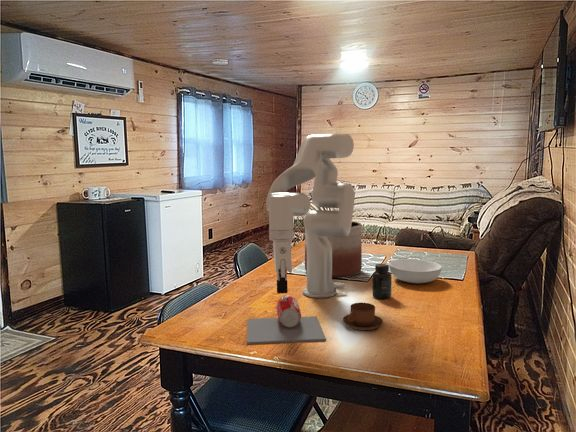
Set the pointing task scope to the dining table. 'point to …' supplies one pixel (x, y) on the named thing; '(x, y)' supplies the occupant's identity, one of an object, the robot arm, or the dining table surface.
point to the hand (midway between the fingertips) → (282, 292)
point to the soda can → (288, 311)
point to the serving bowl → (415, 270)
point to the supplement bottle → (382, 282)
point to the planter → (345, 252)
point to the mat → (283, 331)
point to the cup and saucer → (362, 317)
